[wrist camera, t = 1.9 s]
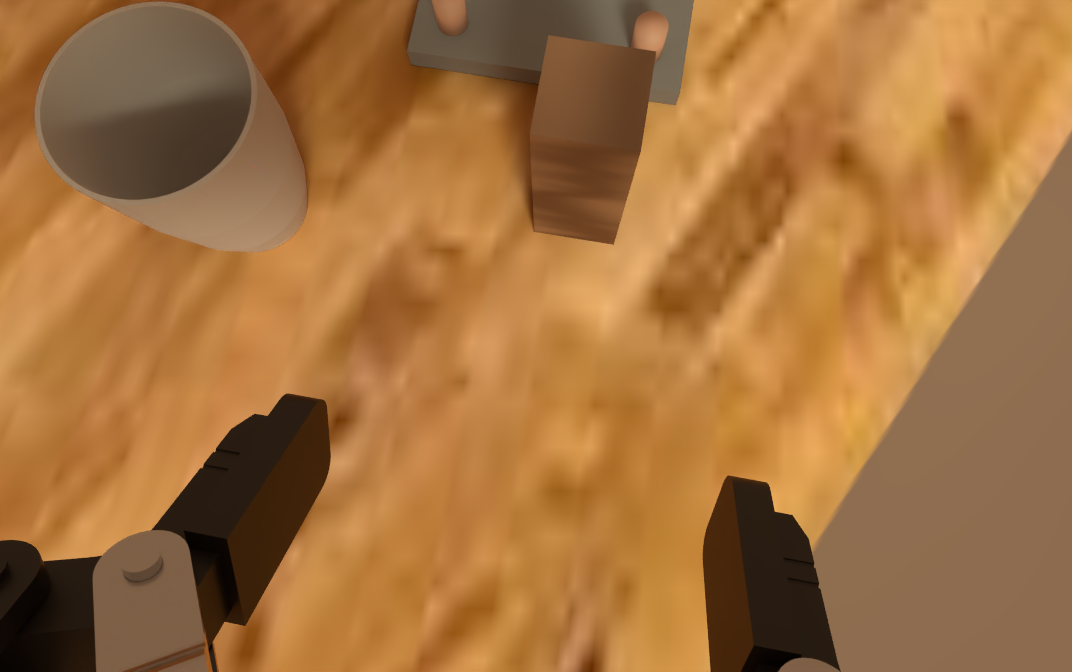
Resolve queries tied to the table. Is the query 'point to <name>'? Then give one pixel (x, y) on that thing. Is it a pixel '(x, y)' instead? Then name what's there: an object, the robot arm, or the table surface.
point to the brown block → (587, 136)
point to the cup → (173, 128)
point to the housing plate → (524, 25)
